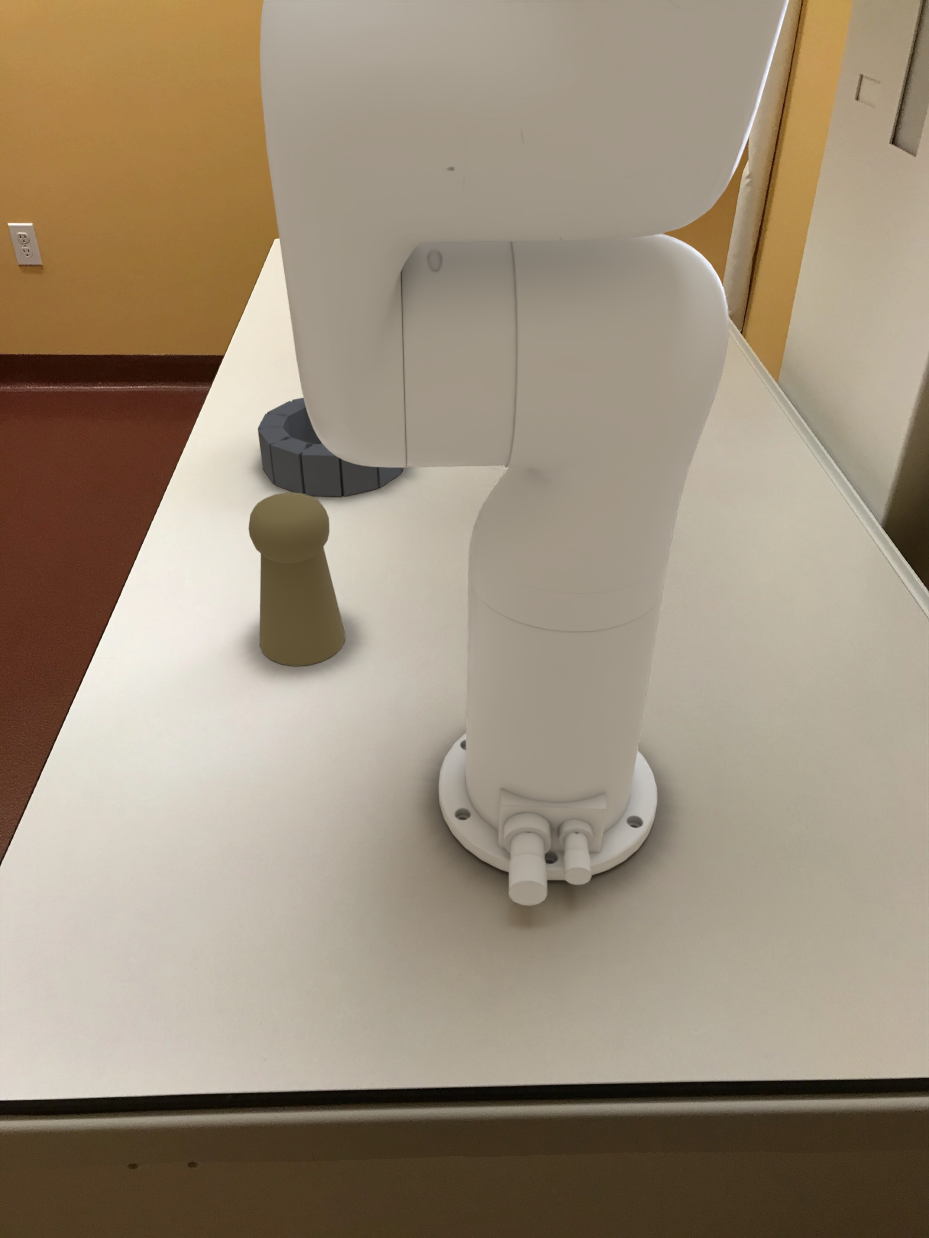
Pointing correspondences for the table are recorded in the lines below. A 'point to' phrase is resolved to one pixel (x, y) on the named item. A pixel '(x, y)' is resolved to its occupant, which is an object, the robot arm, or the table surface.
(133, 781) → the table surface
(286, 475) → the segmented block ring
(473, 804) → the robot arm
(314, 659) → the olive pawn
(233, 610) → the table surface
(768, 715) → the table surface
